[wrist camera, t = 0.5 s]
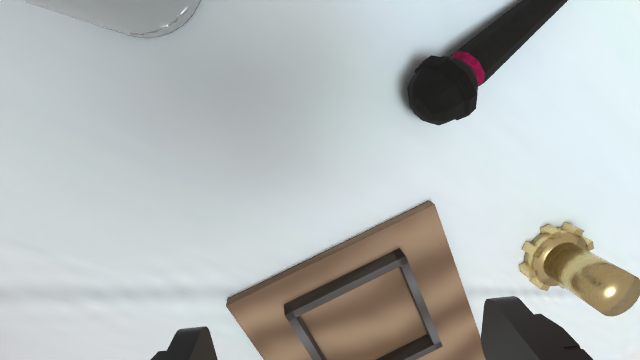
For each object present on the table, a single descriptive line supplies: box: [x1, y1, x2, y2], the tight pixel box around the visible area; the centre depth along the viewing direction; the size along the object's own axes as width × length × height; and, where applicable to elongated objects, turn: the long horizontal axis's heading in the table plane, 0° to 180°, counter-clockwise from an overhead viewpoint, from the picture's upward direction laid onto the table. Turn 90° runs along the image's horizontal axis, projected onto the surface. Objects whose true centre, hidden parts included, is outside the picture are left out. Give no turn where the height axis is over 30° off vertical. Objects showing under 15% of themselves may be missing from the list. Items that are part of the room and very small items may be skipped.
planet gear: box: [519, 223, 640, 316], centre depth 32 cm, size 8×8×8 cm
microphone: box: [408, 0, 568, 125], centre depth 26 cm, size 6×6×20 cm
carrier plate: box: [226, 201, 486, 360], centre depth 33 cm, size 26×22×4 cm
